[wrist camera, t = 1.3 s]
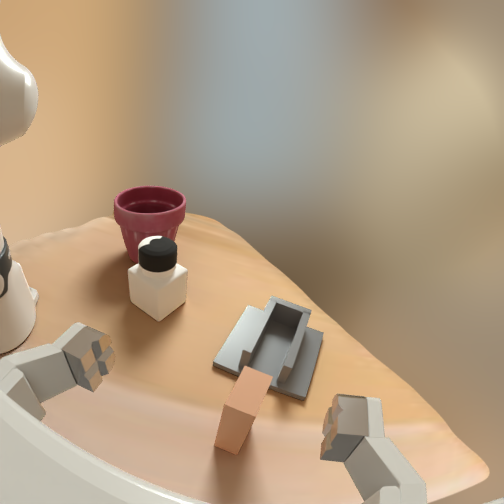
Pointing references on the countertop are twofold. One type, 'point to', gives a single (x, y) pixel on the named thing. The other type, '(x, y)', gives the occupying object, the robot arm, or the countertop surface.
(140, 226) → the plant pot
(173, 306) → the medicine bottle
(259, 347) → the rack
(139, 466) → the countertop surface
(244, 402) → the tall tan pillar block
